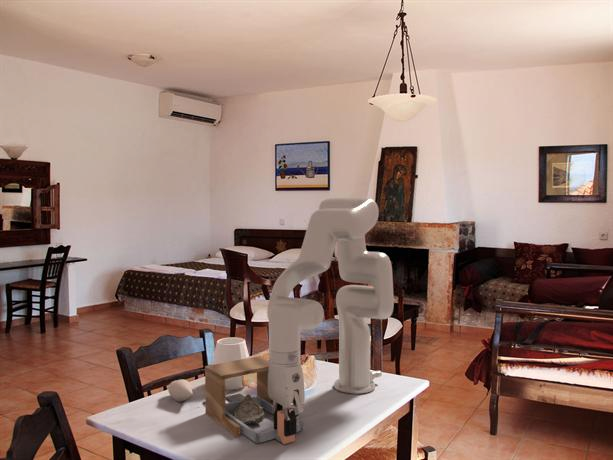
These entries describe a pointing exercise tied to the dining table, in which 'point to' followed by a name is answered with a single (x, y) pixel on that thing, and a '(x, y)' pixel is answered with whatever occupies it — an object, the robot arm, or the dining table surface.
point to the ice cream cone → (180, 390)
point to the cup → (230, 357)
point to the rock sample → (249, 411)
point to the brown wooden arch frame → (216, 394)
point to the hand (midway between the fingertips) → (284, 430)
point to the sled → (268, 433)
